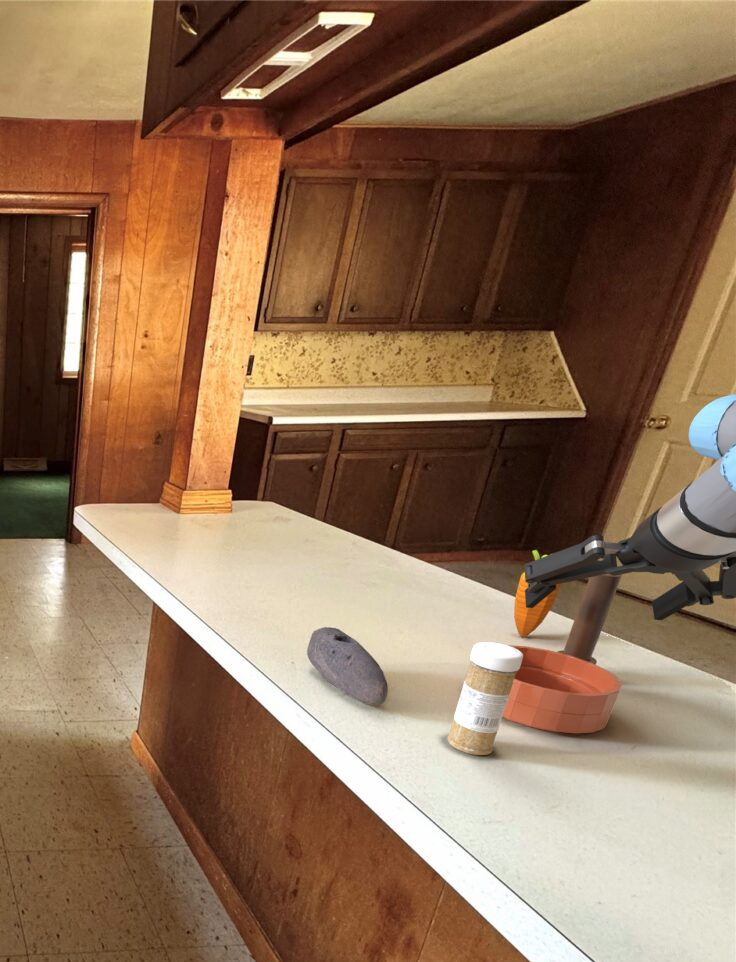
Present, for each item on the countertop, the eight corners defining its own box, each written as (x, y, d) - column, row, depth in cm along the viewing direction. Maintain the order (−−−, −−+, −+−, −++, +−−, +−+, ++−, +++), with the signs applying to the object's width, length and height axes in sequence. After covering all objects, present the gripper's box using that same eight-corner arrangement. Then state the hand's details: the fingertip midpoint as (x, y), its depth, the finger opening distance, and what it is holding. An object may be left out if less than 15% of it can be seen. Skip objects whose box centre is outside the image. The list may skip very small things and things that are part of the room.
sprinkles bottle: (489, 742, 82) (521, 645, 77) (493, 761, 79) (527, 660, 74) (444, 732, 85) (472, 637, 80) (446, 750, 81) (475, 652, 76)
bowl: (591, 697, 91) (606, 659, 89) (618, 749, 80) (636, 706, 78) (463, 674, 98) (473, 637, 96) (471, 718, 87) (484, 678, 85)
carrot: (495, 630, 112) (521, 545, 106) (528, 631, 111) (556, 545, 106) (515, 642, 107) (543, 555, 102) (549, 643, 107) (580, 555, 101)
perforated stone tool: (397, 715, 89) (409, 669, 86) (358, 716, 89) (369, 670, 86) (334, 664, 103) (342, 623, 100) (300, 665, 103) (308, 624, 100)
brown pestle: (586, 672, 98) (624, 570, 92) (593, 685, 94) (633, 580, 88) (547, 665, 100) (582, 565, 94) (552, 677, 96) (589, 575, 91)
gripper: (855, 504, 69) (710, 590, 87) (551, 492, 78) (478, 571, 96) (872, 568, 66) (719, 642, 84) (556, 547, 76) (480, 618, 94)
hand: (590, 604), depth 90 cm, fingers open, 13 cm apart
